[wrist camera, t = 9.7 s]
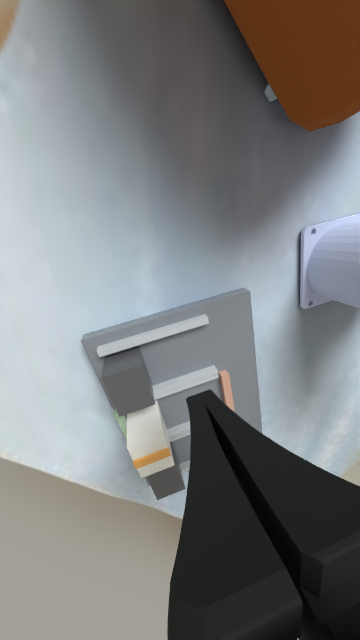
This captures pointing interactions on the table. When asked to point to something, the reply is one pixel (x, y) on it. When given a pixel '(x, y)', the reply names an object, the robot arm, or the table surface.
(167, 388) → the breaker board
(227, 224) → the table surface
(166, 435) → the handle
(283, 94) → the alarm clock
